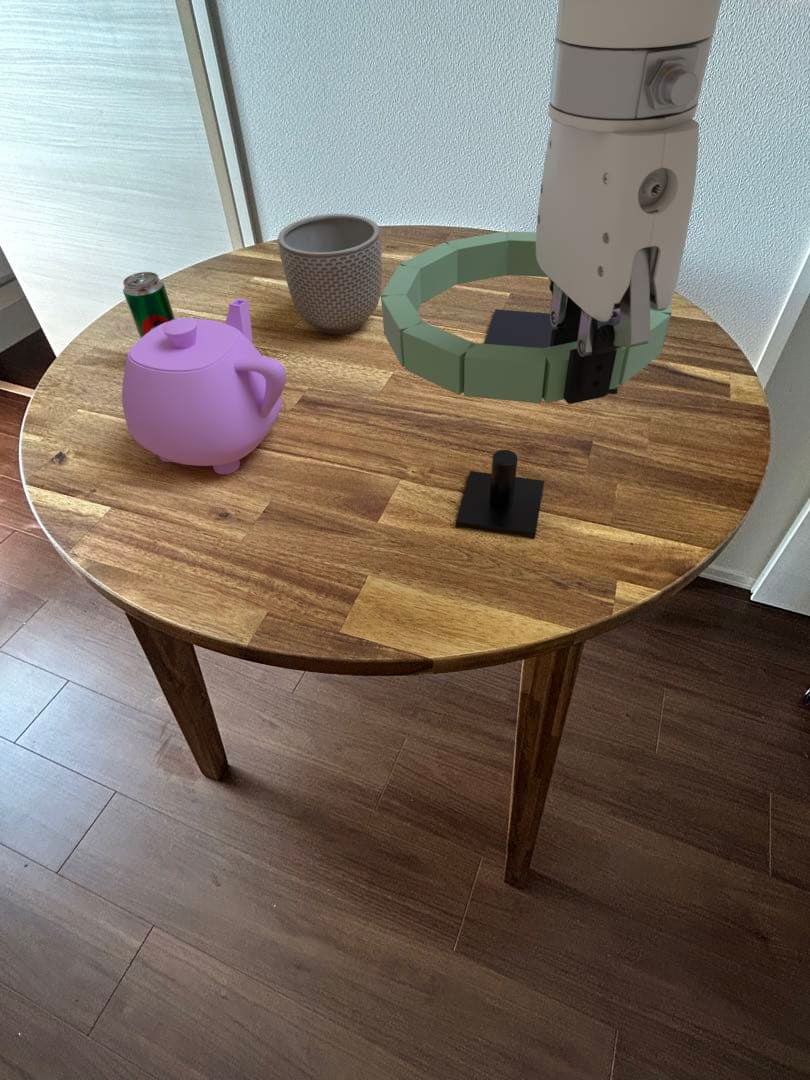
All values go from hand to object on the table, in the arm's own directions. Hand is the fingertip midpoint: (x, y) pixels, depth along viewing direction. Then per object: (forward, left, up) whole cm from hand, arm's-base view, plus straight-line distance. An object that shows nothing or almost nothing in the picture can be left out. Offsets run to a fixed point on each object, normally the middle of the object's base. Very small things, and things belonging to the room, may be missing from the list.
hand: (576, 386), depth 46 cm
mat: (+3, -40, -20) cm, 45 cm away
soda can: (+54, -27, -21) cm, 64 cm away
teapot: (+38, -14, -21) cm, 46 cm away
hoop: (+5, -9, 0) cm, 10 cm away
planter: (+34, -42, -21) cm, 58 cm away
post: (+5, -8, -20) cm, 23 cm away
